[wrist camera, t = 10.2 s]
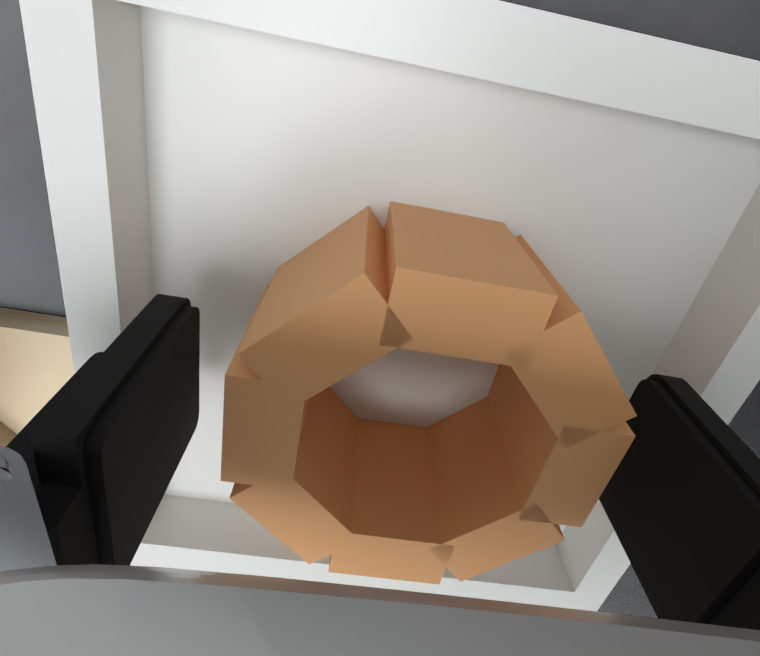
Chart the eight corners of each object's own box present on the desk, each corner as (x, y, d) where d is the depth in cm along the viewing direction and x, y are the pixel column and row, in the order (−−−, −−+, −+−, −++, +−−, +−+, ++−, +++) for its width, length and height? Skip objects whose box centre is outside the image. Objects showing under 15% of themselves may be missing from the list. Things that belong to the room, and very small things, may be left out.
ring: (607, 242, 10) (703, 321, 7) (504, 474, 14) (540, 596, 11) (276, 178, 10) (230, 238, 7) (254, 440, 13) (217, 559, 10)
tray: (827, 94, 10) (951, 105, 8) (566, 544, 16) (593, 615, 14) (96, -73, 8) (2, -116, 6) (140, 492, 15) (102, 562, 13)
